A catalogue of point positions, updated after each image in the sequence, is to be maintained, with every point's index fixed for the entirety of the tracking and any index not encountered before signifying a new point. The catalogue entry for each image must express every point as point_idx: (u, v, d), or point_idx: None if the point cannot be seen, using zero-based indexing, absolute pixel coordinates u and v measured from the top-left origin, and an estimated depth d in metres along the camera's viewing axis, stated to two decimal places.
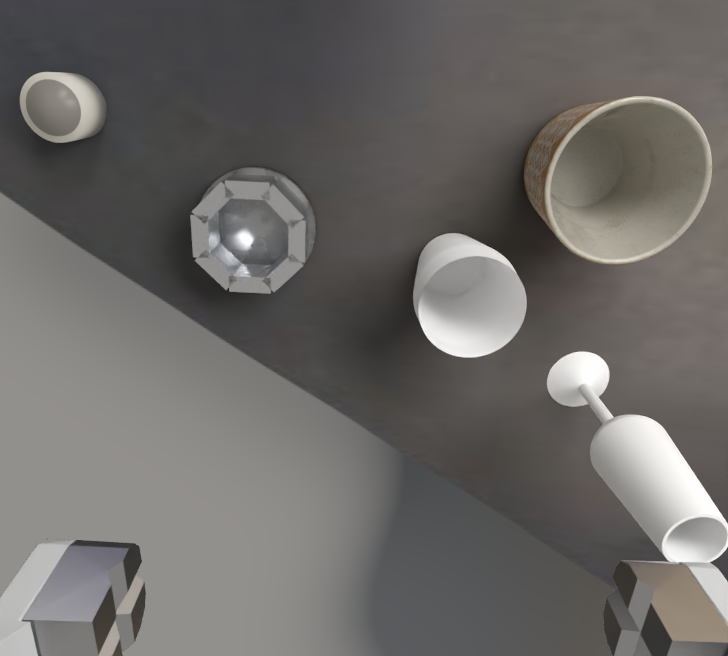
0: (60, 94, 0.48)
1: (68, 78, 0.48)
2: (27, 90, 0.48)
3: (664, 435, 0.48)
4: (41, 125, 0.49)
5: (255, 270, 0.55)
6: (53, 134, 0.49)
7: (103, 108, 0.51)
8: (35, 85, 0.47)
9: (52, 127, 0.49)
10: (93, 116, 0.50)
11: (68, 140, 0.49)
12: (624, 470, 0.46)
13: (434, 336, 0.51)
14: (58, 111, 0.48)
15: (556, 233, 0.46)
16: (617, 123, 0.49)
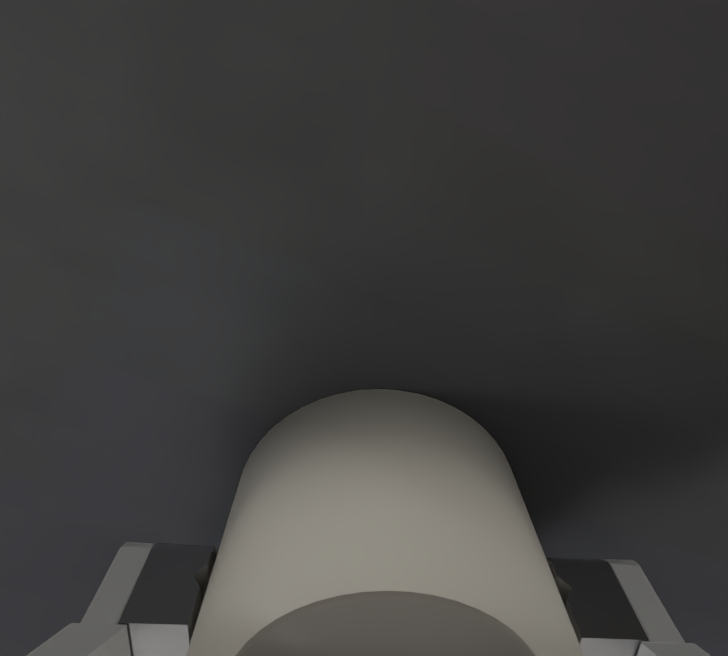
0: None
1: None
2: None
3: None
4: None
5: None
6: (477, 620, 0.07)
7: (236, 492, 0.10)
8: None
9: (452, 655, 0.07)
10: (222, 564, 0.08)
11: (404, 562, 0.07)
12: None
13: None
14: None
15: None
16: None
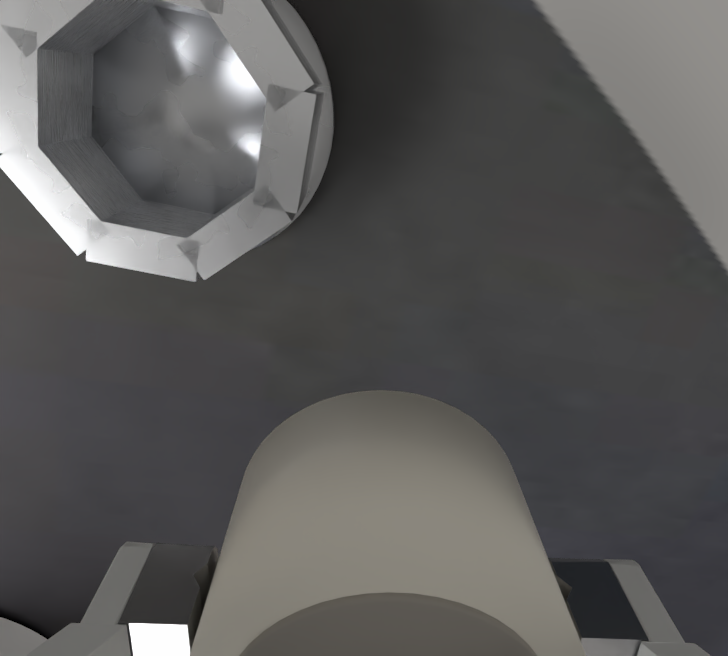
0: None
1: None
2: None
3: None
4: None
5: (173, 6, 0.19)
6: (480, 622, 0.07)
7: (239, 493, 0.10)
8: None
9: None
10: (225, 564, 0.08)
11: (408, 563, 0.07)
12: None
13: None
14: None
15: None
16: None
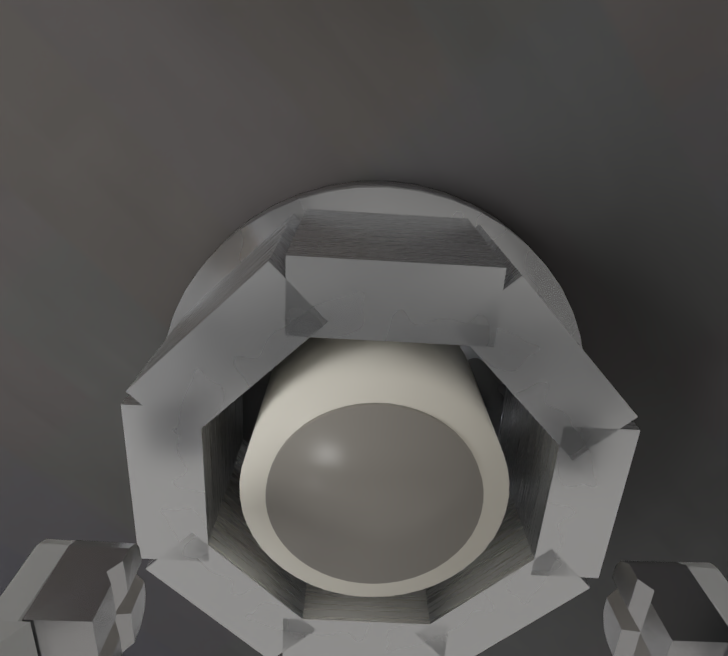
0: (318, 530, 0.12)
1: None
2: (433, 569, 0.13)
3: None
4: (459, 461, 0.12)
5: None
6: (432, 422, 0.11)
7: (270, 376, 0.15)
8: (393, 576, 0.13)
9: (417, 448, 0.11)
10: (266, 403, 0.12)
11: (386, 381, 0.11)
12: None
13: None
14: (360, 486, 0.12)
15: None
16: None
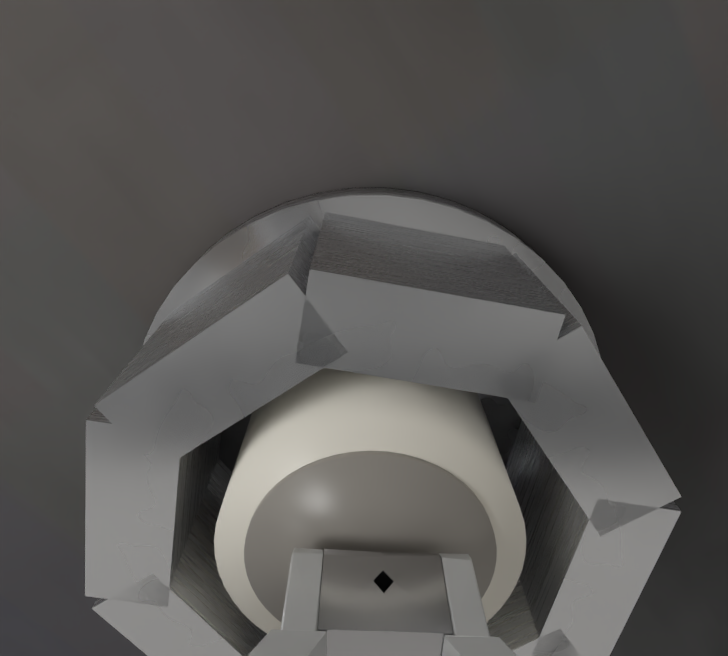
0: None
1: None
2: None
3: None
4: (472, 526, 0.10)
5: None
6: (450, 481, 0.10)
7: None
8: None
9: (428, 507, 0.10)
10: (257, 434, 0.11)
11: (403, 429, 0.09)
12: None
13: None
14: (356, 543, 0.10)
15: None
16: None
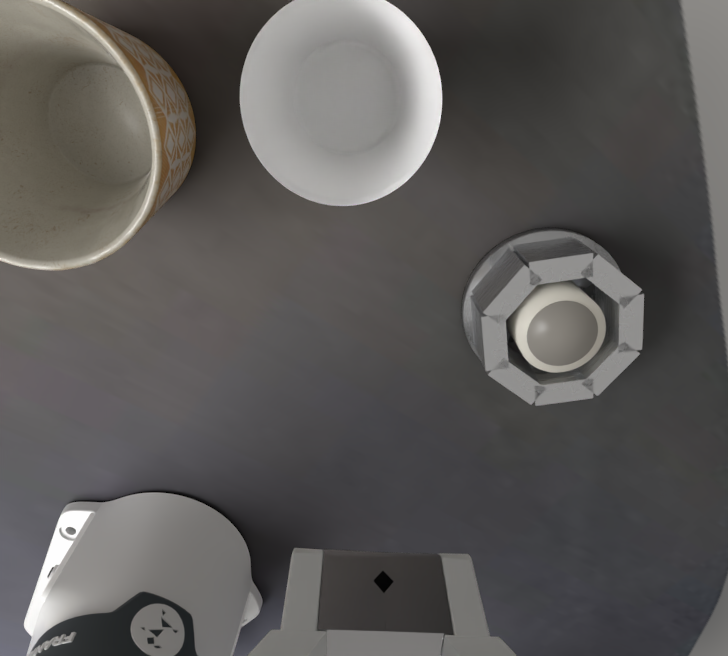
0: (545, 348, 0.37)
1: None
2: (585, 356, 0.37)
3: None
4: (587, 315, 0.36)
5: None
6: (577, 304, 0.36)
7: None
8: (572, 361, 0.37)
9: (573, 313, 0.36)
10: (518, 312, 0.37)
11: (561, 294, 0.36)
12: None
13: (432, 63, 0.27)
14: (557, 330, 0.36)
15: (156, 131, 0.27)
16: (38, 180, 0.34)
